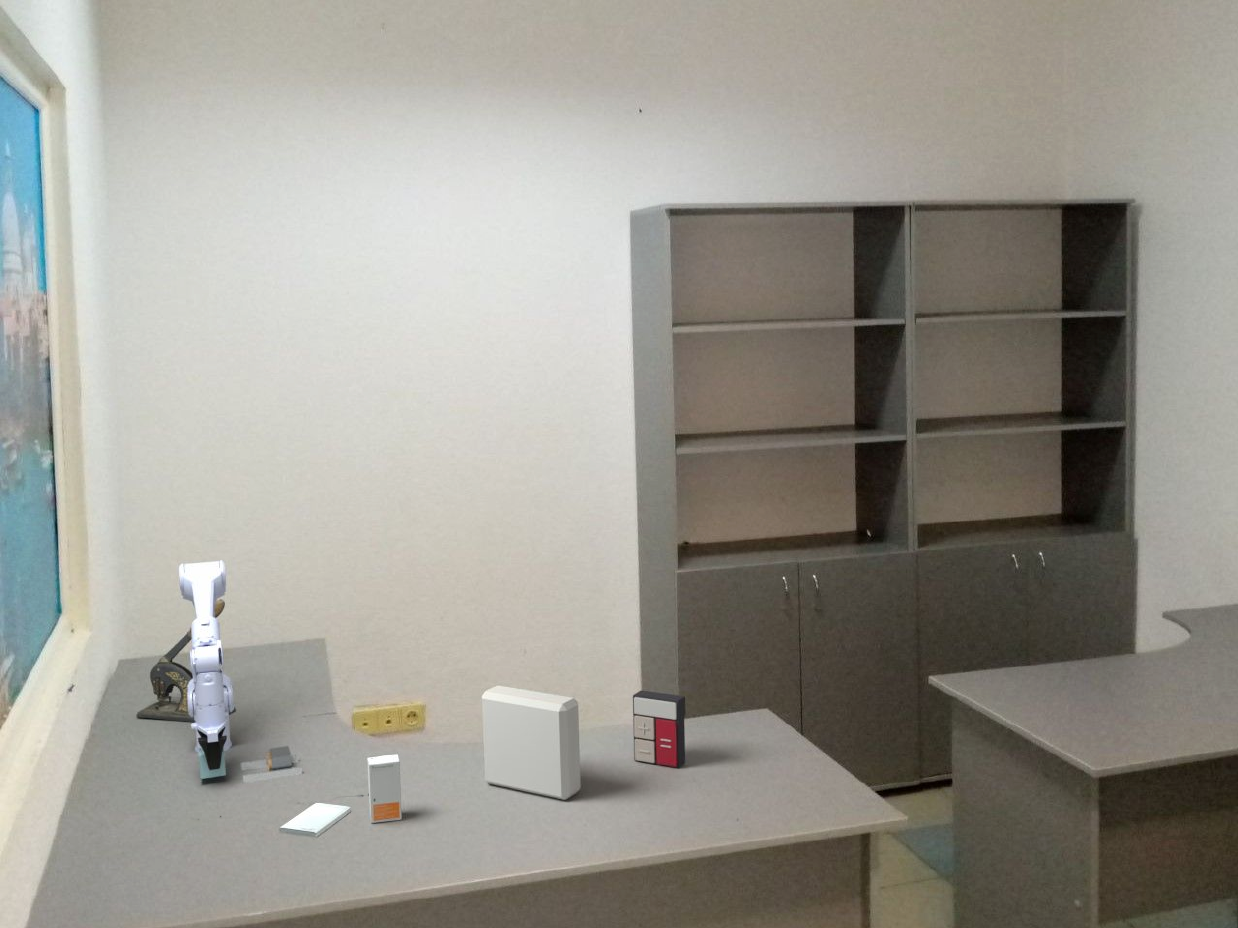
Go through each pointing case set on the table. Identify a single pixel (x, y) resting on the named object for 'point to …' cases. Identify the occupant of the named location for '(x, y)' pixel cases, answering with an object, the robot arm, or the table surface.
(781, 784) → the table surface
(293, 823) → the hard drive
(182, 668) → the embossing press
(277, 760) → the block
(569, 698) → the bevelled white case
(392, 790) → the skincare box
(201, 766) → the block
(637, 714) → the calculator
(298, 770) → the frame
